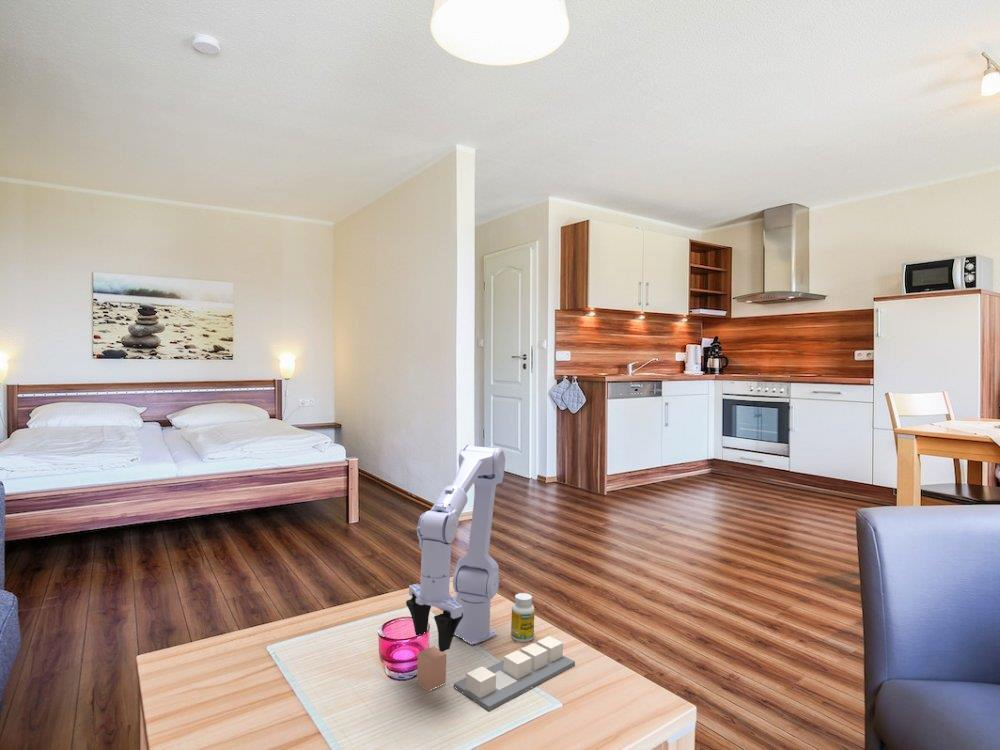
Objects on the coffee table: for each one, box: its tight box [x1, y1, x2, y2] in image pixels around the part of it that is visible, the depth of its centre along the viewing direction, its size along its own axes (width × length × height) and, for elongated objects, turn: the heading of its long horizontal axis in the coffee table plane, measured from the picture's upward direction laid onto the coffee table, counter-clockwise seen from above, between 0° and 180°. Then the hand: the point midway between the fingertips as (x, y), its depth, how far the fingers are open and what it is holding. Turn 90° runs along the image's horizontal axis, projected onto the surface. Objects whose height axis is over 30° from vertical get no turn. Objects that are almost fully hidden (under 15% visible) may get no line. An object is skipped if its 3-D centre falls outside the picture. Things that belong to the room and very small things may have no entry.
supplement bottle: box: [510, 592, 536, 643], centre depth 130 cm, size 5×5×10 cm
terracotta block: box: [416, 646, 448, 692], centre depth 109 cm, size 4×4×6 cm
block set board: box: [453, 635, 576, 712], centre depth 113 cm, size 10×25×4 cm, turn 134°
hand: (432, 642), depth 109 cm, fingers open, 7 cm apart
